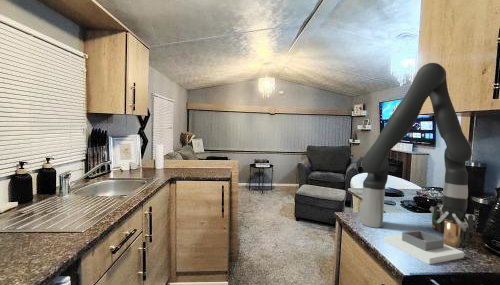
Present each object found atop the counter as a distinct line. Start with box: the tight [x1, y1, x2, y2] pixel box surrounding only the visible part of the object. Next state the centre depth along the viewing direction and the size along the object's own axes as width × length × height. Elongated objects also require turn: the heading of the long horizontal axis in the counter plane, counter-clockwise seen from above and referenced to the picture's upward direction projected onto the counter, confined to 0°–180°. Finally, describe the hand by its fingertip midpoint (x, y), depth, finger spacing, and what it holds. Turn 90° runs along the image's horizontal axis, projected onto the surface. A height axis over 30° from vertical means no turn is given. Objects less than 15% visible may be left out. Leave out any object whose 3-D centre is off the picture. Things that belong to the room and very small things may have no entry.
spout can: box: [442, 220, 462, 248], centre depth 102 cm, size 5×5×11 cm
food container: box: [429, 205, 445, 234], centre depth 116 cm, size 12×6×10 cm, turn 56°
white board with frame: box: [383, 229, 465, 265], centre depth 97 cm, size 18×17×5 cm
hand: (452, 236), depth 102 cm, fingers open, 8 cm apart
